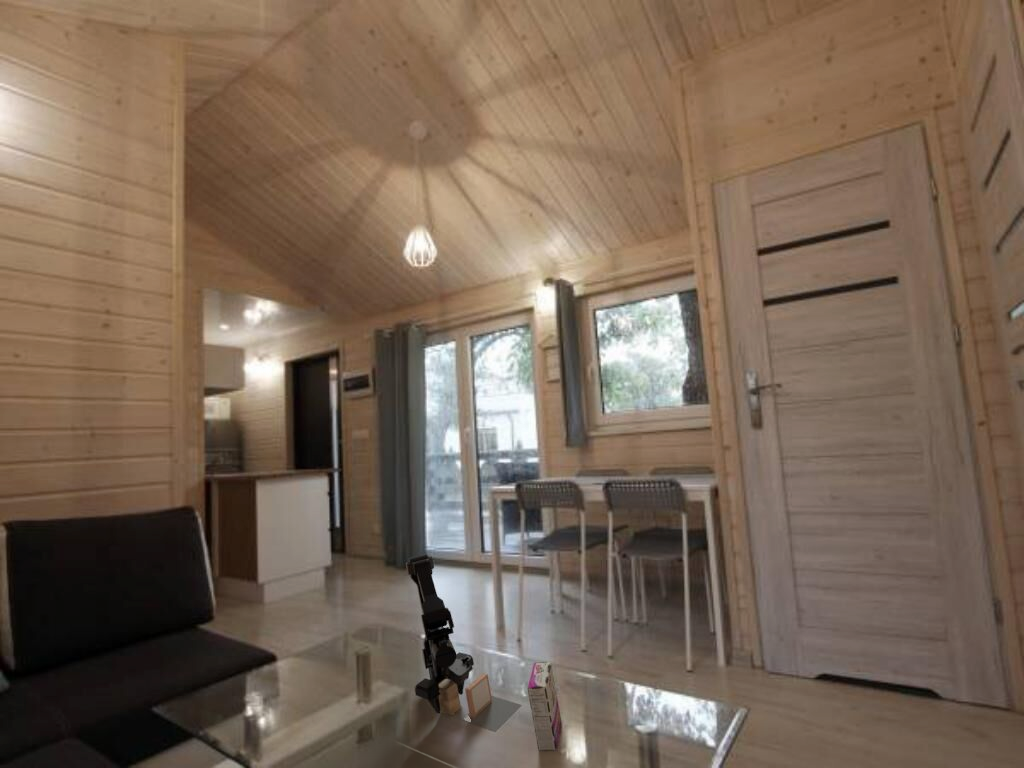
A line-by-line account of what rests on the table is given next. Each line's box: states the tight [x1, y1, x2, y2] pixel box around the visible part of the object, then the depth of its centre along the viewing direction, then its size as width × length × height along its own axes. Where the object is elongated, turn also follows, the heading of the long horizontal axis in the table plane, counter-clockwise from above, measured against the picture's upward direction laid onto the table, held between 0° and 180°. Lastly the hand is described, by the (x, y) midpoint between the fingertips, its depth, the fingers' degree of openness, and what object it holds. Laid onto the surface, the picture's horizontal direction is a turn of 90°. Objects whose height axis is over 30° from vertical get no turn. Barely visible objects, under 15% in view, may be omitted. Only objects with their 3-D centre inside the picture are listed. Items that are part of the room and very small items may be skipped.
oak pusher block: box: [439, 679, 462, 716], centre depth 157 cm, size 4×4×8 cm
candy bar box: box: [526, 661, 562, 752], centre depth 140 cm, size 11×5×16 cm, turn 168°
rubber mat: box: [467, 695, 522, 733], centre depth 153 cm, size 12×12×1 cm
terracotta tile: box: [464, 672, 492, 718], centre depth 156 cm, size 2×8×8 cm, turn 142°
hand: (450, 703), depth 157 cm, fingers open, 9 cm apart
